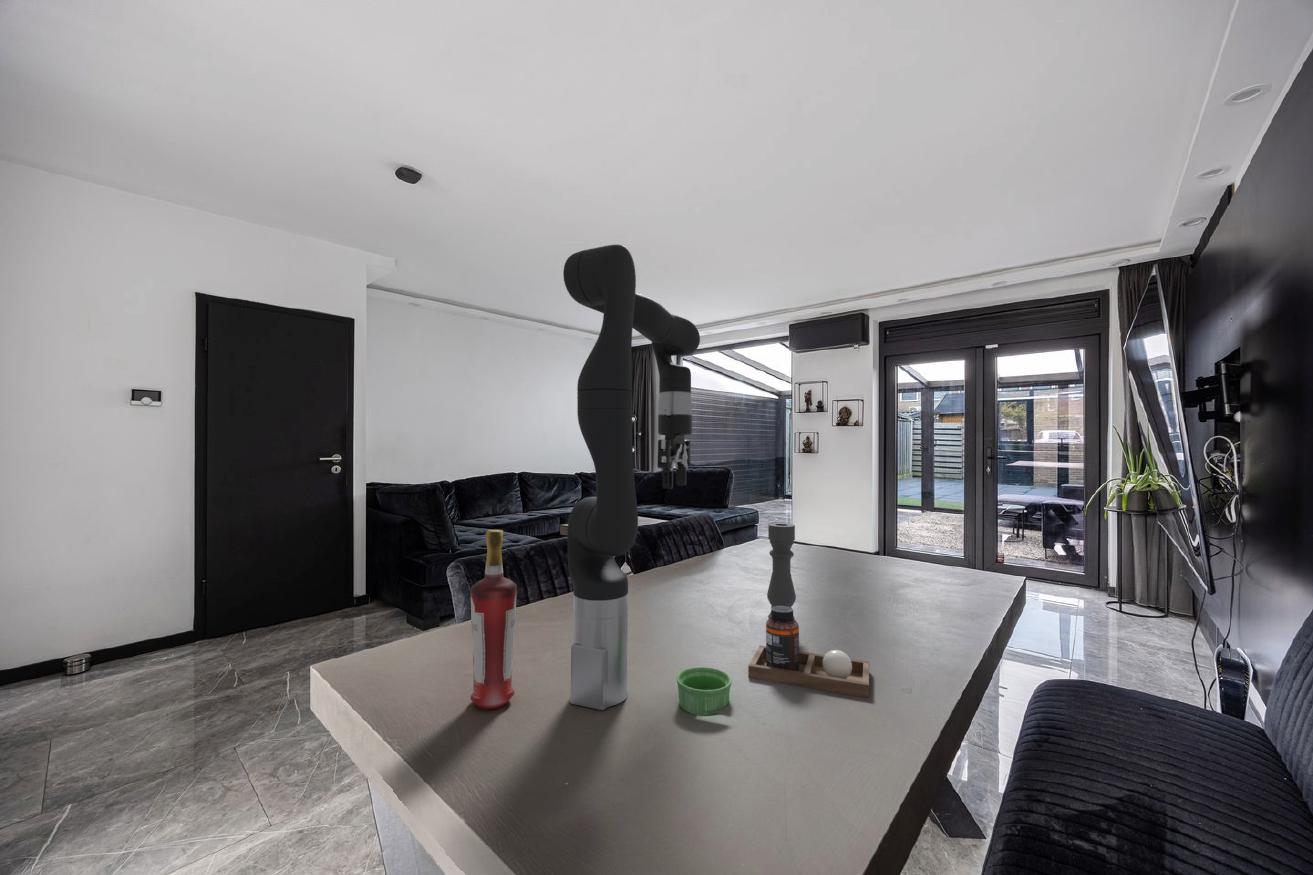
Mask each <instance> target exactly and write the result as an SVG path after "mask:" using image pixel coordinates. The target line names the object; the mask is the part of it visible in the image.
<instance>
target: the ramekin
mask: <svg viewBox="0 0 1313 875" xmlns="http://www.w3.org/2000/svg"><path fill="white" fill-rule="evenodd" d="M732 681H733V680H732V678H731V676H730V675H729V674H728V673H727V672H726V671H723V670H720V669H718V668H714V667H709V666H708V667H707V666H696V667H695V666H694V667H690V668H686V669H684V670H681V671H680V672H679V673H677V675H676V684H677V688H678V689H677V692H678V702H679V705H680V707H681V709H682V710H683V711H685V712H687V713H689V714H691V715H693V716H699V717H700V716H701V717H713V716H717V715H719V713H716V712H711V711H716V710H719V709H723V708H724V707H725V706H727V705H728V703H729V701H730V691H731V686H732Z"/></svg>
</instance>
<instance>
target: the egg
mask: <svg viewBox="0 0 1313 875" xmlns="http://www.w3.org/2000/svg"><path fill="white" fill-rule="evenodd" d="M824 655H825V656H824V658H823V663H822V664H823V669H824V671H825V673H826V674H827V675H828V676H830V677H836V678H842V679H846V678H848V677H849V675H850V674H851V672H852V662H851V660H850V659H851V658H850V657H849V656H848V654H847V653H845V651H843V650H840V649H832V650H829V651H828V652H826V654H824Z"/></svg>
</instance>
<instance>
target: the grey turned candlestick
mask: <svg viewBox="0 0 1313 875" xmlns="http://www.w3.org/2000/svg"><path fill="white" fill-rule="evenodd" d="M767 526H768V527H767V528H768V529H767V530H768V531H767V533H768V534H767V535H768V536H767V537H768V538H767V539H768V540H769V543H770V545H771V547H772V549H771V550H769V553H768V554H769V556H770V557H771V558H772V572H771V575H770V579H769V580H770V581H769V584H768V585H769V586H768V590H767V595H766V598H767V600H768V602H769V604H770V605H771V606H770V609H771V608H772V607H774V606H787V607H790V608H792V607H793V606H794V604H795V602H796V599H797V595H796V590H795V586H794V582H793V577H792V573H791V571H792V570H791V567H792V566H791V559H792V558H793V557H794V555H795V554H794V552H793V551H792V550H791V548H792V547H793V545H794V543H795V542H794V541H795V540H796V525H795V524H793V523H787V522H772V523H768V525H767ZM771 617H772V615H771V611H770V612H769V614H768V616H767V619H769V618H771ZM793 619H794V620H796V618H795V616H794V615H793Z"/></svg>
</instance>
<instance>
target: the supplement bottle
mask: <svg viewBox="0 0 1313 875" xmlns="http://www.w3.org/2000/svg"><path fill="white" fill-rule="evenodd" d="M770 612H771V615H772V617H771V618H767V620H766V622H765V646H766V666H768V667H774V668H780V669H786V670H793V671H799V651H800V628H799V627H800V626H799V623H798V622H797V620H796V619H795V620H794V619H793V616H794V609H793V608H792V607H791V608H790V607H787V606H774V607H772V608H771V607H770Z"/></svg>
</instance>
